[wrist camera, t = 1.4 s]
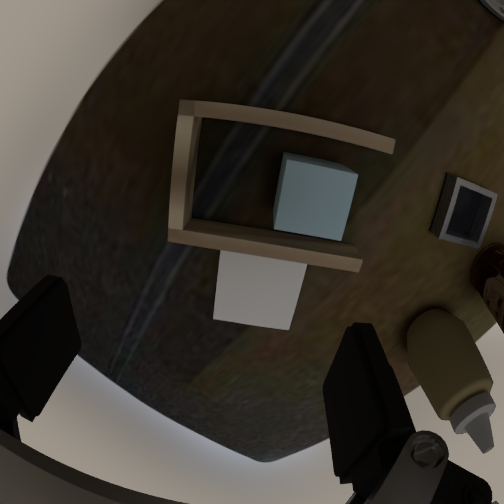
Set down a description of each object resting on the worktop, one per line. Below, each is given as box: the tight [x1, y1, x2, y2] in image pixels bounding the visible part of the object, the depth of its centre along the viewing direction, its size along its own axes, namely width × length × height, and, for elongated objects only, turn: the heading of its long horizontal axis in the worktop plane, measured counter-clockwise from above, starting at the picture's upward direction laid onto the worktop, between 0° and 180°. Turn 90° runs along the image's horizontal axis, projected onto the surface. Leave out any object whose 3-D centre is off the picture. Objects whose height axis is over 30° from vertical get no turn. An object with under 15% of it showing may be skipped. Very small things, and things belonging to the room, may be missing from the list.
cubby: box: [168, 100, 395, 272], centre depth 23 cm, size 11×16×3 cm
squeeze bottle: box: [407, 309, 496, 453], centre depth 22 cm, size 8×8×18 cm
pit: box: [429, 172, 498, 249], centre depth 23 cm, size 6×6×2 cm
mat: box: [213, 250, 307, 330], centre depth 29 cm, size 8×8×1 cm
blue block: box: [273, 152, 358, 241], centre depth 22 cm, size 5×5×5 cm
